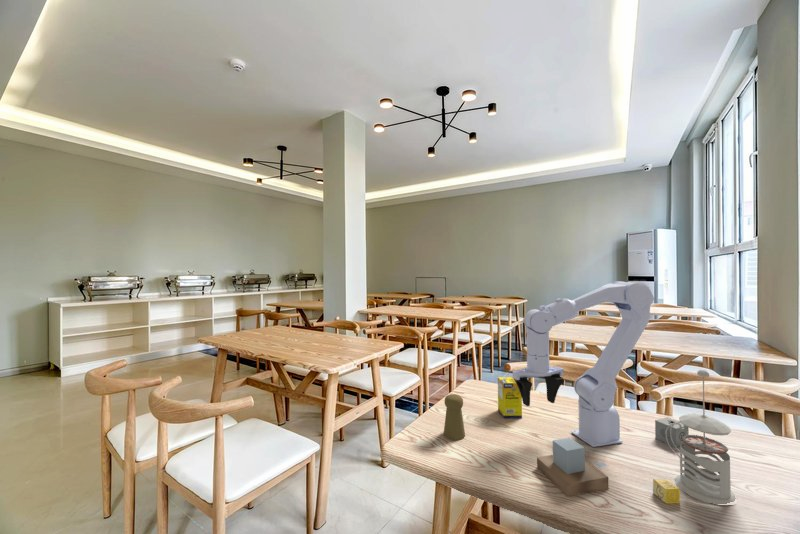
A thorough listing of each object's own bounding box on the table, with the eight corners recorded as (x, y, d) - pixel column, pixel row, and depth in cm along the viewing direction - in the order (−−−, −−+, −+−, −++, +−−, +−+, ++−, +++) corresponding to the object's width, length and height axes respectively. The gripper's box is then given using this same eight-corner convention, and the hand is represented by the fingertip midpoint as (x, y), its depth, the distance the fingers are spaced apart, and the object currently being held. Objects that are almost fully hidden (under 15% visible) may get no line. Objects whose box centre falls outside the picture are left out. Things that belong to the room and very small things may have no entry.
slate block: (569, 459, 77) (569, 437, 77) (585, 470, 73) (584, 447, 73) (553, 462, 76) (552, 440, 76) (567, 474, 71) (567, 450, 71)
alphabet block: (666, 492, 69) (666, 478, 69) (680, 503, 66) (680, 488, 66) (652, 493, 69) (652, 478, 69) (665, 504, 66) (665, 488, 66)
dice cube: (688, 444, 87) (688, 425, 87) (676, 448, 85) (675, 428, 85) (667, 435, 92) (667, 417, 92) (655, 438, 90) (655, 420, 90)
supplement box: (522, 418, 103) (522, 382, 103) (503, 418, 103) (502, 383, 103) (516, 409, 109) (515, 376, 109) (497, 410, 109) (497, 376, 109)
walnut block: (573, 463, 80) (573, 451, 80) (608, 491, 70) (608, 476, 70) (537, 470, 78) (537, 457, 78) (567, 499, 68) (567, 484, 68)
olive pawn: (441, 438, 92) (440, 398, 92) (446, 428, 98) (445, 390, 98) (462, 442, 90) (462, 401, 90) (467, 431, 95) (466, 393, 95)
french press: (722, 512, 63) (720, 380, 63) (655, 477, 74) (653, 364, 74) (748, 497, 67) (746, 373, 67) (680, 466, 78) (679, 359, 78)
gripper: (551, 348, 97) (552, 395, 97) (506, 352, 94) (507, 400, 94) (568, 354, 90) (569, 404, 90) (520, 358, 87) (521, 410, 87)
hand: (538, 403), depth 92 cm, fingers open, 7 cm apart
